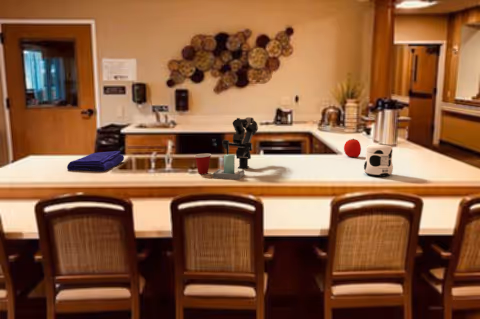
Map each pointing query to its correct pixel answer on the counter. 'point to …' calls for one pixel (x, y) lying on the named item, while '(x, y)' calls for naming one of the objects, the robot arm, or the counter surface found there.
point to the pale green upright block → (229, 163)
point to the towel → (96, 161)
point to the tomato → (352, 148)
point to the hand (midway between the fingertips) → (234, 156)
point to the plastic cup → (202, 162)
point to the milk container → (378, 160)
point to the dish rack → (221, 174)
